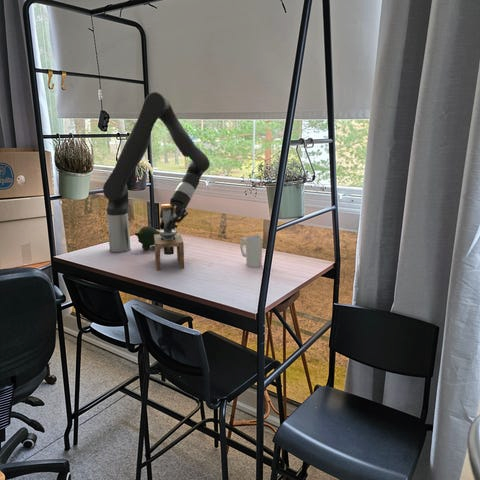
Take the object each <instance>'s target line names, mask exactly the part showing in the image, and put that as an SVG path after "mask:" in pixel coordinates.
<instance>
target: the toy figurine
mask: <svg viewBox="0 0 480 480" xmlns="http://www.w3.org/2000/svg"><path fill="white" fill-rule="evenodd" d="M178 226H179V225H177V224H176V223H175V224H174V225H173V227H172V230H176V229H177V228H178ZM176 233H178V232H177V231H176ZM155 234H160V230H157V229H156V228H155V227H153V226H150V225H145V226H143V227H141V228H140V229H139V231H138V232H134V235H135V236H136V237H137V241H138V242H139V243H140V244H141V249H143V250H145V251H149V250H150V249H151V247H153V246H155V242H154V235H155Z"/></svg>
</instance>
